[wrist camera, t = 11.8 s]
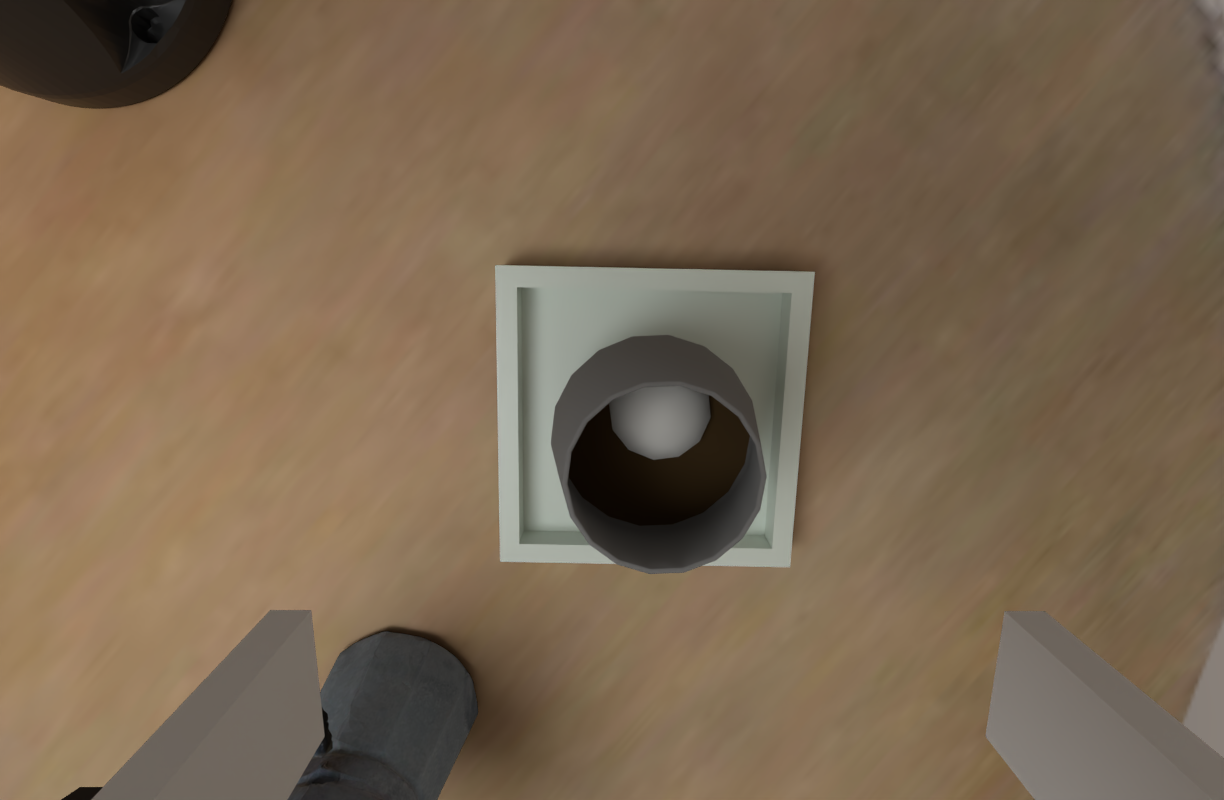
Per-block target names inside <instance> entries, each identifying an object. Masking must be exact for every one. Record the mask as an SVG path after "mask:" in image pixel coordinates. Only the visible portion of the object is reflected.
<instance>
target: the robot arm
mask: <svg viewBox="0 0 1224 800" xmlns="http://www.w3.org/2000/svg"><path fill="white" fill-rule="evenodd" d="M230 4H231V0H0V85H1V86H3V87H6V88H9V89H11V90H14V91H18V92H21V93H24V94H28V95H31V96H35V97H38V98H42V99H45V100H49V101H52V102H56V103H59V104H64V105H68V106H74V107H81V108H113V107H121V106H126V105H131V104H134V103H138V102H141V101H144V100H147V99H149V98H152V97H154V96H156V95H158V94H160V93H162V92H164V91H166V90H167V89H169V88H171V87H172V86H174V85H175V84H176V83H178V82H179V81H181V80H182V79H183V78H184V77H185V76H186V75H188V74H189V73H190V72H191V71H192V70H193V69H194V68H195V67H196V66H197V65H198V64H199V62H200V61H201V60H202V59H203V58H204V56H205V55H206V54H207V52H208V51H209V49H210V48H211V46H212V45H213V43H214V41H215V40H216V38H217V36H218V34H219V32H220V30H221V28H222V26H223V24H224V21H225V19H226V16H227V14H228V10H229V7H230ZM324 737H325V734H324V725H323V716H322V706H321V697H320V688H319V678H318V669H317V659H316V650H315V641H314V631H313V622H312V613H311V610H270V611H269V612H268V613H267V614H266V615H265V616H264V618H263V619H262V620H261V621H260V622H259V623H258V624H257V625H256V626H255V627H254V628H253V629H252V630H251V631H250V632H249V633H248V634H247V635H246V637H245V638H244V639H243V640H242V641H241V642H240V643H239V644H238V645H237V646H236V647H235V648H234V649H233V650H232V651H231V652H230V653H229V655H228V656H227V657H226V658H225V659H224V660H223V661H222V662H221V663H220V664H219V665H218V666H217V667H216V668H215V669H214V670H213V671H212V673H211V674H210V675H209V676H208V677H207V678H206V679H205V680H204V681H203V682H202V683H201V684H200V685H199V686H198V687H197V688H196V689H195V690H194V692H193V693H192V694H191V695H190V696H189V697H188V698H187V699H186V700H185V701H184V702H183V703H182V704H181V705H180V706H179V707H178V708H177V710H176V711H175V712H174V713H173V714H172V715H171V716H170V717H169V718H168V719H167V720H166V721H165V722H164V723H163V724H162V725H161V726H160V728H159V729H158V730H157V731H156V732H155V733H154V734H153V735H152V736H151V737H150V738H149V739H148V740H147V741H146V742H145V743H144V744H143V745H142V747H141V748H140V749H139V750H138V751H137V752H136V753H135V754H134V755H133V756H132V757H131V758H130V759H129V760H128V761H127V762H126V763H125V765H124V766H123V767H122V768H121V769H120V770H119V771H118V772H117V773H116V774H115V775H114V776H113V777H112V778H111V779H110V780H109V781H108V783H107V784H106V785H105V786H104V787H79V788H78V789H77V790H75V791H74V792H72V793H71V794H69V795H68V796H66V797H65V798H63V799H62V800H288V798H289V796H290V795H291V793H292V791H293V789H294V788H295V786H296V784H297V783H298V781H299V779H300V778H301V776H302V774H303V772H304V771H305V769H306V767H307V766H308V764H309V762H310V760H311V759H312V757H313V755H314V754H315V752H316V750H317V749H318V747H319V745H320V743H321V742H322V740H323V738H324ZM986 738H987V739H988V740H989V741H990V743H991V744H992V745H993V747H994V748H995V749H996V750H997V752H998V753H999V754H1000V756H1001V757H1002V758H1003V759H1004V761H1005V762H1006V763H1007V765H1008V766H1009V767H1010V768H1011V770H1012V771H1013V772H1014V774H1015V775H1016V776H1017V777H1018V779H1019V780H1020V781H1021V782H1022V784H1023V785H1024V786H1025V788H1026V789H1027V790H1028V791H1029V793H1030V794H1031V795H1032V797H1033V798H1034V799H1035V800H1224V758H1223V757H1222V756H1220V755H1219V754H1218V753H1217V752H1216V751H1214V750H1213V749H1212V748H1211V747H1209V746H1208V745H1207V744H1206V743H1204V742H1203V741H1202V740H1201V739H1200V738H1198V737H1197V736H1196V735H1195V734H1194V733H1192V732H1191V731H1190V730H1189V729H1188V728H1186V727H1185V726H1184V725H1183V724H1181V723H1180V722H1179V721H1178V720H1177V719H1175V718H1174V717H1173V716H1172V715H1170V714H1169V713H1168V712H1167V711H1166V710H1164V709H1163V708H1162V707H1161V706H1160V705H1158V704H1157V703H1156V702H1155V701H1153V700H1152V699H1151V698H1150V697H1149V696H1147V695H1146V694H1145V693H1144V692H1142V691H1141V690H1140V689H1139V688H1138V687H1136V686H1135V685H1134V684H1133V683H1132V682H1130V681H1129V680H1128V679H1127V678H1125V677H1124V676H1123V675H1122V674H1121V673H1119V672H1118V671H1117V670H1116V669H1114V668H1113V667H1112V666H1111V665H1110V664H1108V663H1107V662H1106V661H1105V660H1103V659H1102V658H1101V657H1100V656H1099V655H1097V654H1096V653H1095V652H1094V651H1093V650H1091V649H1090V648H1089V647H1088V646H1086V645H1085V644H1084V643H1083V642H1082V641H1080V640H1079V639H1078V638H1077V637H1075V636H1074V635H1073V634H1072V633H1071V632H1069V631H1068V630H1067V629H1066V628H1064V627H1063V626H1062V625H1061V624H1060V623H1058V622H1057V621H1056V620H1055V619H1054V618H1052V617H1051V616H1050V615H1049V614H1047V613H1046V612H1045V611H1005V612H1004V619H1003V625H1002V632H1001V638H1000V645H999V651H998V658H997V664H996V671H995V677H994V684H993V691H992V697H991V704H990V710H989V717H988V723H987V730H986Z"/></svg>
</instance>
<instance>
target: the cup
mask: <svg viewBox="0 0 1224 800" xmlns="http://www.w3.org/2000/svg"><path fill="white" fill-rule="evenodd" d="M551 447H552V451H553V455H554V459H555V463H556V467H557V471H558V475H559V479H560V483H561V486H562V490H563V493H564V497H565V500H566V504H567V508H568V511H569V515H570V518H571V519H572V520H573V522H574V523H575V525H576V526H577V528H578V529H579V531H580V532H581V534H582V535H583V536H584V538H585V539H586V541H587V542H588V544H589V545H590V546H592V547H593V548H595V549H596V550H597V551H599V552H600V553H602V554H603V555H604V556H606V557H607V558H609V559H610V560H611V561H613V562H614V563H616V564H618V565H621V566H624V567H628V568H631V569H635V570H638V571H641V572H645V573H648V574H659V573H684V572H687V571H689V570H692V569H695V568H697V567H700V566H703V565H705V564H708V563H711V562H713V561H716V560H717V559H718V558H720V557H721V556H722V555H723V554H725V553H726V552H727V551H728V550H729V549H731V548H732V547H733V546H734V545H736V544H737V543H738V542H739V541H740V540H742V539H743V537H744V536H745V534H746V532H747V531H748V529H749V527H750V526H751V524H752V522H753V521H754V519H755V517H756V516H757V514H758V512H759V511H760V508H761V503H762V498H763V493H764V488H765V483H766V477H767V475H766V470H765V464H764V458H763V453H762V447H761V442H760V437H759V432H758V427H757V422H756V417H755V412H754V407H753V402H752V399H751V398H750V396H749V394H748V393H747V391H746V389H745V388H744V386H743V384H742V383H741V381H740V379H739V378H738V376H737V374H736V373H735V371H734V370H733V368H732V367H730V366H729V365H728V364H726V363H725V362H724V361H723V360H721V359H720V358H719V357H718V356H716V355H715V354H714V353H712V352H711V351H710V350H709V349H707V348H706V347H705V346H702V345H699V344H696V343H693V342H690V341H686V340H683V339H680V338H677V337H674V336H671V335H653V336H632V337H630V338H627V339H625V340H622V341H620V342H617V343H615V344H612V345H610V346H608V347H605V348H603V349H600V350H598V351H597V352H596V353H595V354H594V355H593V356H592V357H591V358H590V359H588V360H587V361H586V362H585V363H584V364H583V365H582V366H581V367H580V368H579V369H577V370H576V371H575V372H574V373H573V374H572V375H571V377H570V379H569V381H568V383H567V384H566V386H565V388H564V390H563V392H562V394H561V396H560V398H559V400H558V402H557V404H556V406H555V411H554V419H553V427H552V436H551Z"/></svg>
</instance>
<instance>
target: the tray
mask: <svg viewBox="0 0 1224 800" xmlns="http://www.w3.org/2000/svg"><path fill="white" fill-rule="evenodd" d="M814 276H815V272H806V271H767V270H720V269H672V268H625V267H578V266H531V265H495V279H496V341H497V402H498V464H499V525H500V562H545V563H597V564H616V563H614V562H613V561H611V560H610V559H609V558H607V557H606V556H604V555H603V554H602V553H600V552H599V551H597V550H596V549H595V548H593V547H592V546H590V545H589V544H588V542H587V541H586V539H585V538H584V536H583V535H582V534H581V532H580V531H579V529H578V528H577V526H576V525H575V523H574V522H573V520H572V519H571V518H570V515H569V511H568V508H567V504H566V500H565V497H564V493H563V490H562V486H561V483H560V479H559V475H558V471H557V467H556V463H555V459H554V455H553V451H552V447H551V436H552V427H553V419H554V411H555V406H556V404H557V402H558V400H559V398H560V396H561V394H562V392H563V390H564V388H565V386H566V384H567V383H568V381H569V379H570V377H571V375H572V374H573V373H574V372H575V371H576V370H577V369H579V368H580V367H581V366H582V365H583V364H584V363H585V362H586V361H587V360H588V359H590V358H591V357H592V356H593V355H594V354H595V353H596V352H597V351H598V350H600V349H603V348H605V347H608V346H610V345H612V344H615V343H617V342H620V341H622V340H625V339H627V338H630V337H632V336H653V335H671V336H674V337H677V338H680V339H683V340H686V341H690V342H693V343H696V344H699V345H702V346H705V347H706V348H707V349H709V350H710V351H711V352H712V353H714V354H715V355H716V356H718V357H719V358H720V359H721V360H723V361H724V362H725V363H726V364H728V365H729V366H730V367H732V368H733V370H734V371H735V373H736V374H737V376H738V378H739V379H740V381H741V383H742V384H743V386H744V388H745V389H746V391H747V393H748V394H749V396H750V398H751V399H752V402H753V407H754V412H755V417H756V422H757V427H758V432H759V437H760V442H761V447H762V453H763V458H764V464H765V470H766V475H767V477H766V483H765V488H764V493H763V498H762V503H761V508H760V511H759V512H758V514H757V516H756V517H755V519H754V521H753V522H752V524H751V526H750V527H749V529H748V531H747V532H746V534H745V536H744V537H743V539H742V540H740V541H739V542H738V543H737V544H736V545H734V546H733V547H732V548H731V549H729V550H728V551H727V552H726V553H725V554H723V555H722V556H721V557H720V558H718V559H717V560H716V561H713V562H711V563H708V564H705V565H703V566H754V567H790V561H791V550H792V538H793V526H794V514H795V502H796V490H797V478H798V466H799V454H800V443H801V431H802V419H803V407H804V395H805V383H806V371H807V359H808V347H809V335H810V324H811V312H812V300H813V288H814Z"/></svg>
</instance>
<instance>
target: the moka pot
mask: <svg viewBox="0 0 1224 800" xmlns="http://www.w3.org/2000/svg"><path fill="white" fill-rule="evenodd" d="M320 697H321V706H322V716H323V725H324V734H325V737H324V738H323V740H322V742H321V743H320V745H319V747H318V749H317V750H316V752H315V754H314V755H313V757H312V759H311V760H310V762H309V764H308V766H307V767H306V769H305V771H304V772H303V774H302V776H301V778H300V779H299V781H298V783H297V784H296V786H295V788H294V789H293V791H292V793H291V795H290V796H289V798H288V800H437V799H438V797H439V795H440V792H441V790H442V788H443V786H444V784H445V782H446V780H447V778H448V776H449V774H450V771H451V769H452V767H453V765H454V763H455V761H456V759H457V757H458V755H459V752H460V750H461V748H462V746H463V744H464V742H465V740H466V738H467V736H468V734H469V731H470V729H471V727H472V725H473V723H474V721H475V719H476V717H477V714H478V706H477V700H476V693H475V690H474V685H473V681H472V678H471V676H470V675H469V673H468V672H467V670H466V669H465V668H464V666H463V665H462V664H461V662H460V661H459V660H458V659H457V658H456V657H455V656H454V655H452V654H451V653H450V652H448V651H447V650H446V649H445V648H443V647H441V646H439V645H437V644H436V643H433V642H431V641H429V640H427V639H425V638H422V637H419V636H412V635H407V634H402V633H392V632H389V631H386V632H381V633H379V634H375V635H372V636H370V637H368V638H364V639H362V640H361V641H359V642H357V643H354V644H353V645H352V646H350V647H349V648H347V649H345V650H344V651H342V652H341V653H340V655H339V656H338V658H337V660H336V662H335V664H334V666H333V668H332V670H331V672H330V674H329V676H328V678H327V680H326V682H325V684H324V686H323V688H322V690H321V692H320Z"/></svg>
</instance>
